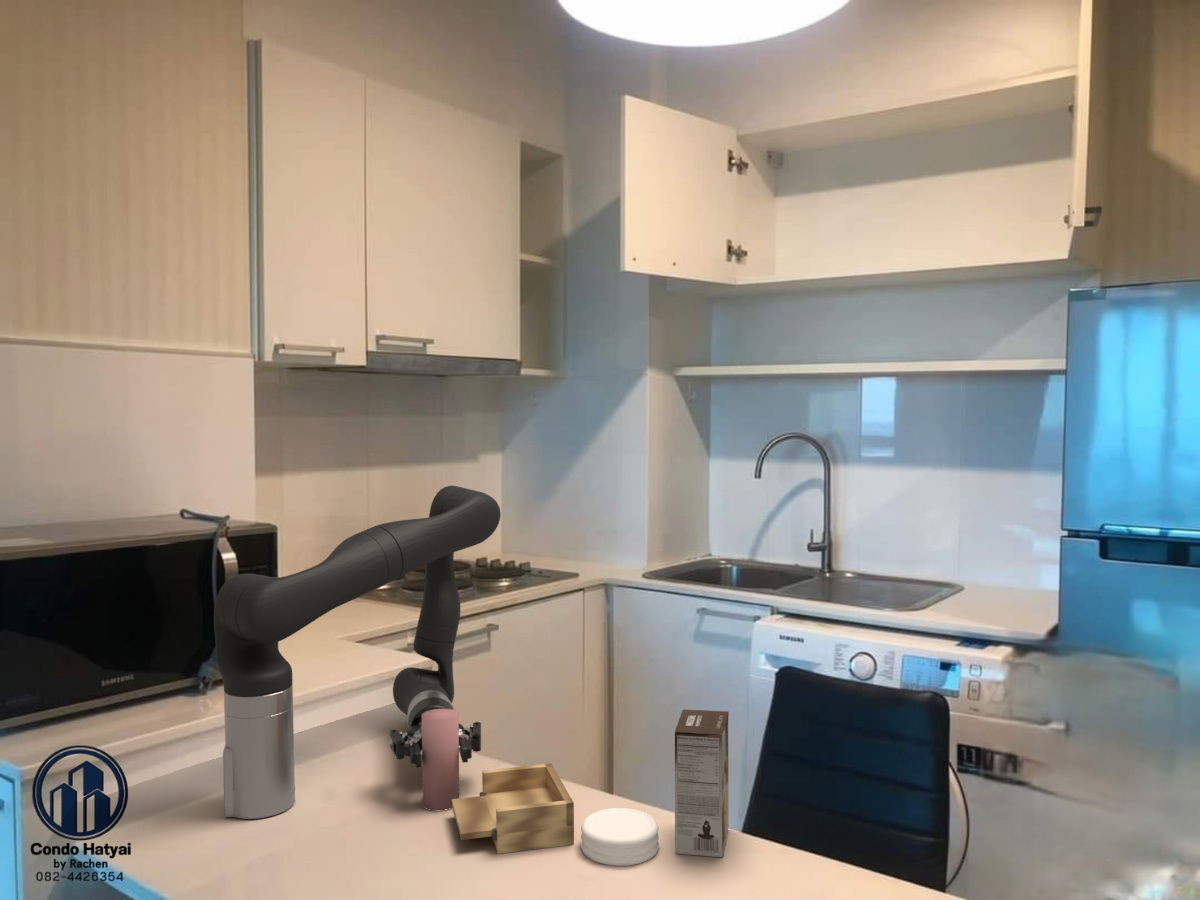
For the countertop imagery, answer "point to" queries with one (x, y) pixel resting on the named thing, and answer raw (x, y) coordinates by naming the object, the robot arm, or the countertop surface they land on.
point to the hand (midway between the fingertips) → (442, 758)
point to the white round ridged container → (619, 836)
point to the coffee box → (701, 783)
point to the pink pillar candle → (440, 758)
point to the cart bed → (518, 809)
